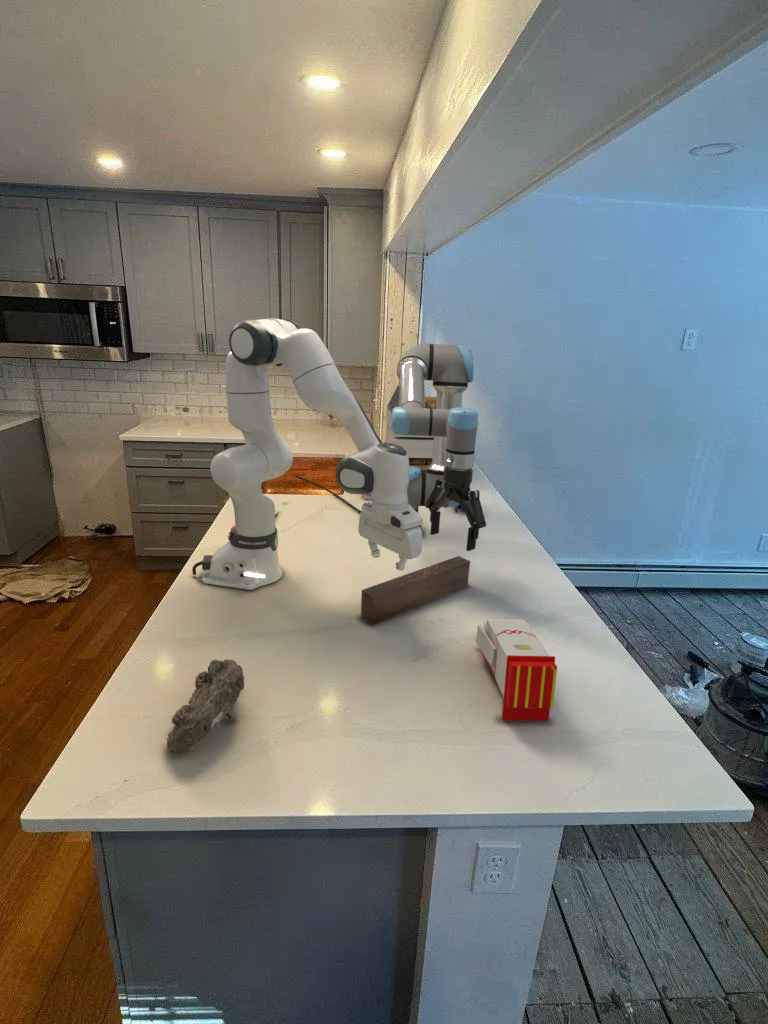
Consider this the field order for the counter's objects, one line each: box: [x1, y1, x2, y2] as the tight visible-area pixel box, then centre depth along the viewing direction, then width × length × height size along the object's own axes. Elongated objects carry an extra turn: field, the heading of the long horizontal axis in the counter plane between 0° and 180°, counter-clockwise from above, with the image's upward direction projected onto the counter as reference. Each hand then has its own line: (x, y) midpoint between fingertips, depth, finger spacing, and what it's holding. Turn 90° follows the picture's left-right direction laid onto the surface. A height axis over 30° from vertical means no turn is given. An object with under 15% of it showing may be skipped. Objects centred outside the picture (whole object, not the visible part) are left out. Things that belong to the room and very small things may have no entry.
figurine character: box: [452, 500, 466, 513], centre depth 227 cm, size 7×8×15 cm
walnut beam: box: [360, 555, 471, 626], centre depth 153 cm, size 4×36×8 cm, turn 131°
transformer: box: [383, 384, 437, 467], centre depth 268 cm, size 34×33×41 cm
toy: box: [475, 618, 558, 722], centre depth 122 cm, size 12×13×30 cm
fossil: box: [166, 658, 245, 754], centre depth 106 cm, size 22×10×15 cm
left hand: (387, 562), depth 142 cm, fingers open, 8 cm apart
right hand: (452, 541), depth 157 cm, fingers open, 13 cm apart
